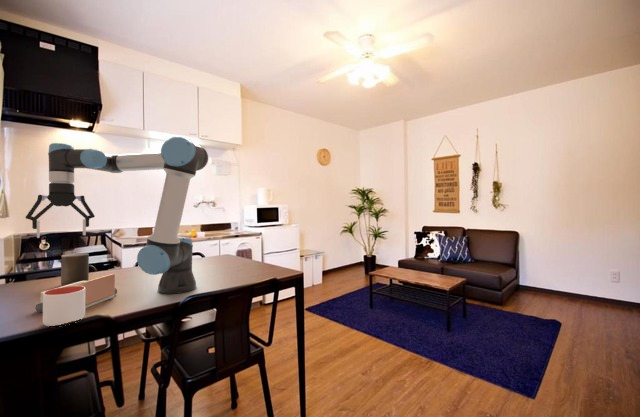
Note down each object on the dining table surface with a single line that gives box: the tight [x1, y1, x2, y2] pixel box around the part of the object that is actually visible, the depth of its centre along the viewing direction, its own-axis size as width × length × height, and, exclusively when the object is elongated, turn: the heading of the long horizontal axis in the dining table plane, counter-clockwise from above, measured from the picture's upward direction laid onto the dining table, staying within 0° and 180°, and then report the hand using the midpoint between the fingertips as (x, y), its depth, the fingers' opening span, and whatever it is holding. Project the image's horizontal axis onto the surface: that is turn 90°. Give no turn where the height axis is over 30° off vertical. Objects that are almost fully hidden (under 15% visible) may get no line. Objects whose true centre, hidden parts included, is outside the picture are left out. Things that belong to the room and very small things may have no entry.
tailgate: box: [81, 273, 116, 305], centre depth 106 cm, size 1×13×8 cm, turn 175°
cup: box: [42, 286, 86, 327], centre depth 90 cm, size 10×10×10 cm
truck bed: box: [35, 281, 118, 313], centre depth 107 cm, size 14×21×6 cm, turn 175°
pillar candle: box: [60, 251, 90, 287], centre depth 131 cm, size 10×10×15 cm
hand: (62, 236), depth 113 cm, fingers open, 13 cm apart
